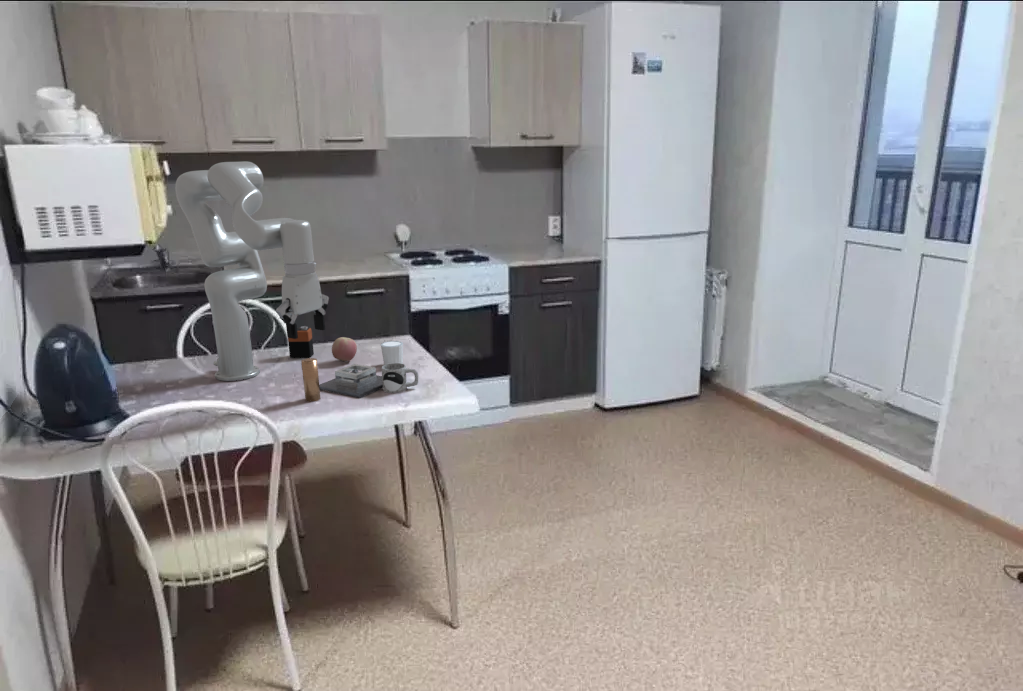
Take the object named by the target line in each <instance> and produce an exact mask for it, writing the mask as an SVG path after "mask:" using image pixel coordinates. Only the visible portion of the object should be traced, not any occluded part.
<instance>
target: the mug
mask: <svg viewBox="0 0 1023 691" xmlns="http://www.w3.org/2000/svg"><path fill="white" fill-rule="evenodd" d="M408 373H410V374H411V373H412V374H413V376H414V381H412V382H411V381H410V382H409V381H407V374H408ZM381 376H382V382H383V388H382V391H383V392H384V393H388V394H397V393H399V394H400V393H403V392H405V391H407V390H408V388H410V387H415V386H417V385H418V384H419V373H418V370H417V369H414V368H410V367H409V368H408V367H406V364H405V363H403V364H402V363H390V364H385V365H384V364H383V365H381Z"/></svg>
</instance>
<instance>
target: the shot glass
mask: <svg viewBox="0 0 1023 691" xmlns="http://www.w3.org/2000/svg"><path fill="white" fill-rule="evenodd" d="M380 348H381V354H382V359H383V360H382V361H383V365H385V364H390V363H402V364H404V363H403V360H404V342H403V341H399V340H390V341H385V342H382V343H381V344H380Z"/></svg>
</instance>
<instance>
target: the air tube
mask: <svg viewBox="0 0 1023 691" xmlns="http://www.w3.org/2000/svg"><path fill="white" fill-rule="evenodd" d="M300 362H301V363H300V364H301V372H302V381H303V390H304V399H305V401H306V402H309V403H311V402H318V401H320V400H321V398H322V397H321V390H320V387H319V385H320V376H319V367H318V359H317V358H316V357H315V358H313V357H310V358H302V359H301V360H300Z"/></svg>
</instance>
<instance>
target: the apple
mask: <svg viewBox="0 0 1023 691" xmlns="http://www.w3.org/2000/svg"><path fill="white" fill-rule="evenodd" d="M357 347H358V346H357V343H356V341H355V340H354V339H353V338H350V337H345V336H342V337H338V338H336V339H335V340H334V341H333V343H332V346H331V355H332V357H333V358H334V359H335V360H337V361H341V362H345V361H348V362H350V361H352V360H353V359H354V358H355V356H356V355H357V351H358V348H357Z"/></svg>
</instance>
